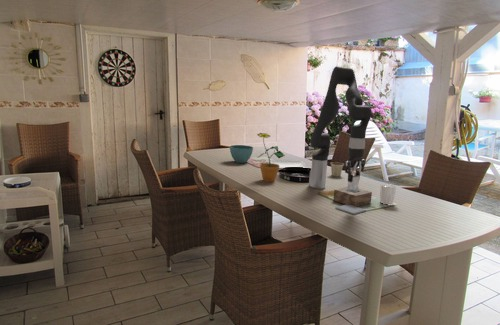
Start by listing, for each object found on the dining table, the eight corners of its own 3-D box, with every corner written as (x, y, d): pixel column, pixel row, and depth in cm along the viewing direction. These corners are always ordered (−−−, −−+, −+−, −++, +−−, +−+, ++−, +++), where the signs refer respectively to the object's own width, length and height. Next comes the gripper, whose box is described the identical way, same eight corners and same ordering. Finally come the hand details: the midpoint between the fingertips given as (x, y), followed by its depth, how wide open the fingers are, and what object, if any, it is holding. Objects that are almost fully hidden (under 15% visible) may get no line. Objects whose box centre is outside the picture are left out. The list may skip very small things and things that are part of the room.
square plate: (267, 164, 298) (267, 159, 297) (301, 165, 300) (301, 160, 299) (271, 172, 271) (271, 166, 270) (309, 173, 273) (309, 167, 272)
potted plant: (252, 182, 237) (254, 134, 232) (258, 176, 255) (260, 131, 250) (280, 185, 233) (283, 136, 228) (284, 178, 251) (287, 133, 246)
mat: (335, 208, 192) (335, 207, 192) (347, 205, 198) (348, 204, 198) (353, 214, 183) (353, 213, 183) (365, 211, 189) (366, 209, 189)
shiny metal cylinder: (345, 190, 189) (346, 174, 188) (351, 189, 192) (353, 173, 191) (353, 192, 185) (355, 176, 184) (359, 191, 188) (361, 175, 187)
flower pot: (341, 174, 272) (342, 162, 270) (344, 177, 263) (345, 165, 261) (327, 173, 271) (328, 162, 270) (331, 176, 262) (332, 164, 261)
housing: (333, 200, 206) (334, 189, 205) (349, 196, 215) (350, 186, 214) (354, 207, 196) (355, 195, 195) (370, 202, 204) (371, 192, 203)
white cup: (384, 205, 200) (386, 187, 198) (375, 201, 207) (377, 183, 206) (397, 205, 202) (399, 187, 200) (388, 200, 210) (390, 183, 208)
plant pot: (256, 162, 303) (257, 146, 301) (244, 165, 288) (244, 149, 286) (237, 159, 313) (238, 144, 310) (224, 162, 297) (225, 146, 295)
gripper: (359, 145, 192) (356, 177, 195) (341, 146, 183) (338, 181, 186) (372, 147, 186) (368, 181, 189) (353, 149, 177) (350, 184, 180)
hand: (353, 180), depth 188 cm, fingers closed on shiny metal cylinder, 5 cm apart
